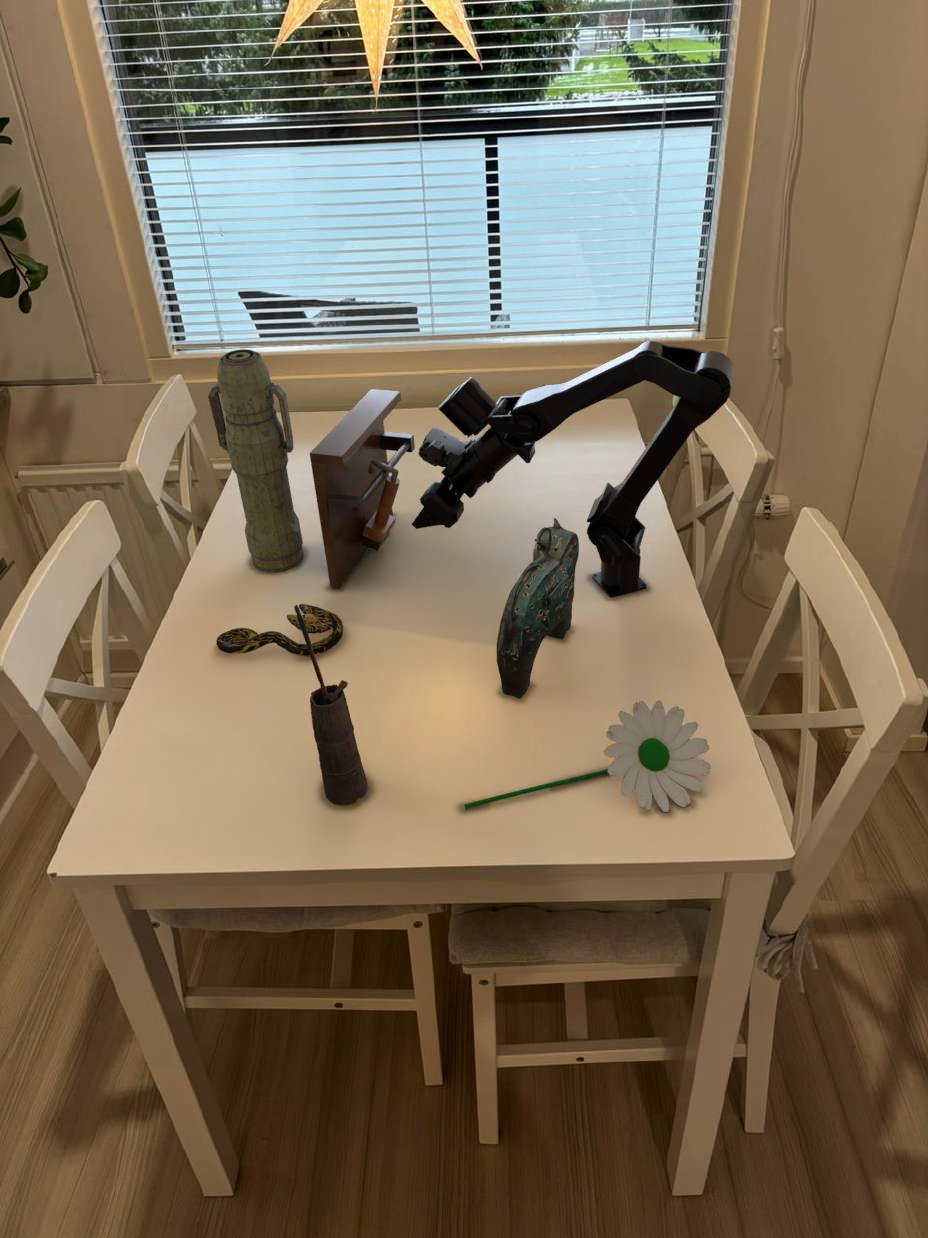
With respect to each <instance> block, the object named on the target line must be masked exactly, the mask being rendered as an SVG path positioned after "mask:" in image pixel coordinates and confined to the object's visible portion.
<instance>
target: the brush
mask: <svg viewBox="0 0 928 1238" xmlns="http://www.w3.org/2000/svg"><path fill="white" fill-rule="evenodd" d="M375 467H378V468H381V469H383V470H385V471H387V472H390V473H389V474H391V475H389V476H388V477H387V478H386V482H385V485H384V488H383V492H382V495H381V499H380V502H379V505H378V509H377V511H376V512H375V513H374V515H373V516H372V517H371V519H370V520H369V521H368V523H367V524H366V525H365V528H364V531H363V534H362V535H363V540H362V543H361V544H362V545H364V546H366V547H368V548H369V549H371V550H373V551H375V552H379V550H380V549H381V547H383V545H384V543H386V541H387V539H388V538H389V537H390V533H391V530H392V529H393V527H394V525H395V523H396V519H397V517H395V516H394V515H393V516H391V515H390V513H391V510H393V506H394V503H395V500H396V497H397V493H398V490H399V487H400V483H401V479H400V478H399V477H398V475H399V470H398V469H397V468H395V467H394V468H393V467H390V466H388V465H386V464H384V463H381V462H379V461H377V460H375V459H373V460H371V463H370V467H369V470H368V473H369V474H373V473H374V470H375Z"/></svg>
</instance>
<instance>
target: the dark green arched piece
mask: <svg viewBox="0 0 928 1238" xmlns="http://www.w3.org/2000/svg"><path fill="white" fill-rule="evenodd" d="M534 541H535V542H536V543H535V545H534V548H533V552H532V559H533V560H532V561H531V562H530V563H529V564H528V565H527V566H526V567H525V569H524V570H523V572H522V573H521V575H520V576H519V577H518V579H517V581H516V582H515V583H514V585H513V587H512V589H511V590H510V592H509V594H508V597H507V599H506V602H505V604H504V608H503V611H502V615H501V619H500V623H499V628H498V634H497V638H496V665H497V669H498V673H499V674H498V675H499V678H500V684H501V685H500V686H501V692H502V694H504V695H506V696H510V697H514V698H517V699H518V700H519V699H522V698H523V697H525V695H526V694H527V692H528V690H529V688H530V686H531V676H532V672H533V668H534V664H535V660H536V658H537V656H538V653H539V649H540V647H541V646H542V643H543V641H544V640H545V639H546V637H550V638H554V639H557V640H562V641H563V640H564V638H566V634H567V633H568V632H569V631H570V629H571V626H572V618H573V603H574V602H573V601H574V597H575V579H576V568H577V564H578V560H579V554H580V543H579V542H580V541H579V536H578V534H577V533H576V532H573V531H571V530H568V529H566V528H564V527H562V526H561V524H560V522H559V520H558V519H557V518H556V517H553V525H552V526H548V527H547V526H545V527H541V529H540V530H539V531H538V533H537V535H536V538H534Z"/></svg>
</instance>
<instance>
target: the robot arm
mask: <svg viewBox="0 0 928 1238" xmlns="http://www.w3.org/2000/svg"><path fill="white" fill-rule="evenodd" d="M734 376H735V366H734V363H733V361H732V360H731V358H730V357H729V356H727V355H726V354H725V353H722V352H720V351H712V350H711V351H706V352H704V351H701V350H699V349H696V348H692V347H687V346H686V347H685V346H676V345H668V344H664V343H661V342H657V341H654V340H648V341H645V342H643V343H641V344H640V345H639V346H637V348H634V349H632V350H629V351H628V352H626V353H624V354H622V355H620V356H618V357H616V358H614V359H611V360H609V361H607V362H605V363H604V364H601V365H599V366H597V367H594V368H593V369H590V370H589V371H587V372H585V373H583V374H581V375H578V376H577V377H575V378H573V379H570V380H569V381H566V382H563V383H558V384H546V385H544V386H539V387H536V388H533V389H529V390H526V391H525V392H524V393H522V394H521V395H519V394H518V395H503V396H502V395H501V396H499V398H498V400H497V401H495V400H494V399H493V398H492V397H491V396H490V395H489V394H488V393H487V392H486V391H485V390H484V389H483V388H482V386H481V385H480V384H479V382H478V381H477V380H476V378H474V377H473V376H470V377H469V378H468V379H467V380H466V381H464V382H463V383H462V384H459V385H458V386H457V387H456V388H454V389H453V390H452V392H451V393H450V394H449V395H448V396H446V398H445V399H444V400H443V402H442V403H441V404H439V406H438V408H437V409H438V410H439V412H440V413H442V414H443V416H445V418H447V420H448V421H450V422H451V423H452V425H454V427H456V428H457V429H458V430H459V431H460V433H461V434H462V435H463V436H466V437H467V438H470V437H471V436H472V435H473V436H474V437H476V436H478V435H479V434H480V433H481V432H482V431H483V430H484V429H485V428H486V427H487V426H488V425H489V426H490V427H488V428H487V429H486V430H485V431H484V432H483V433H482V434H481V435H480V436H478V438H476V439H475V438H474V439H470V440H462V441H461V440H460V439H459V438H458V437H456V436H455V435H452V434H451V433H449V432H447V431H445V430H443V429H441V428H440V427H439V428H438V427H435V426H434V427H432V428H431V429H430V430H429V431H428V433H427V434H426V435H425V437H424V439H423V441H422V444H421V445H420V446H419V449H418V456H419V457H420V458H421V459H422V461H424V462H425V463H427V464H429V465H432V466H433V467H438V466H439V467H440V468H443V469H442V470H441V474H442V475H443V476H444V477H443V478H442V479H441V480H440V482H439V481H434V482H433V483H432V484H431V485H430V486H429V487H428V488H427V489H426V490H425V491H424V493H423V494H422V496H420V498H419V501H420V505H422V506H423V507H422V508H421V510H420V512H418V514H417V516H416V517H415V519H414V520H413V521H412V523H411V526H412V527H413V528H414V529H415V530H418V529H425V528H431V527H438V526H443V527H445V528H447V529H451V528H452V527H453V526H454V525H455V524H456V523H458V521H459V520H460V519H461V517H462V515H463V514H464V511H465V503H464V502H463V501H462V500H461V499H462V497H464V495H466V496H467V497H468V498H469V499H472V498H473V497H474V496H475V495H476V494H477V492H478V491H479V489H480V488H481V487H482V486H483V485H485V483H486V484H489V483H491V482H492V481H493V479H494V478H495V476H496V475H497V473H498V472H499V471H501V470H502V469H504V467H505V466H506V465H508V464H509V463H510V462H511V461H512V460H513V459H515V458H516V457H517V456H518V457H520V458H521V460H523V462H525V463H526V464H530V463H531V462H532V460H533V458H534V456H535V454H536V443H537V442H538V441H540V440H542V439H543V438H545V437H546V436H547V435H550V433H551V432H553V431H555V430H556V429H557V428H559V426H561V424H563V423H564V422H565V421H566V420H567V419H569V418H570V417H571V416H573V415H574V414H576V413H578V412H580V411H583V410H585V409H587V408H588V407H591V406H593V405H595V404H597V403H599V402H601V401H605V400H606V399H608V398H611V397H613V396H614V395H617V394H618V393H621V392H623V391H626V390H627V389H629V388H632V387H634V386H636V385H638V384H640V383H643V382H644V381H646V382H649V383H652V384H654V385H656V386H658V387H659V388H661V389H663V390H664V391H666V392H668V393H669V394H671V395H673V396H675V397H677V398H676V401H675V404H674V405H673V407H672V409H671V411H670V412H669V414H668V415H667V416H666V418H665V419H664V421H663V422H662V423H661V425H660V427H659V428H658V429H657V431H656V433H655V434H654V436H653V437H652V438H651V440H650V441H649V442H648V444H647V446H646V447H645V449H643V452H641V454H640V456H639V457H638V459H637V460H636V462H635V463H634V464H633V466H632V468H631V469H630V471H629V472H628V473H627V475H626V476H625V478H624V479H623V481H621V482H620V483H619V484H617V485H616V486H613V485H612V484H611V483H609V482H606V484H605V487H604V489H603V490H602V493H601V494H600V495H599V496H597V498H595V499H594V501H593V502H592V505H591V508H590V510H589V514H588V515H587V519H586V523H588V527H587V529H586V534H587V537H588V540H589V542H591V545H593V546H594V547H595V548H596V550H597V553H598V556H599V559H600V572H597V573H593V574H592V575H591V578H592V579H593V580H594V582H595V583H596V584H597V585H598V587H599V588H600V589H601V590H602V591H603V592H604V593H605V594H606V596H608V597H609V598H611V599H613V598H614V599H615V598H617V597H622V596H625V595H628V594H633V593H636V592H640V591H644V590H647V588H648V584H647V583H646V582H645V581H644V580H643V579H642V578H641V577H640V572H641V559H642V556H641V545H642V541H643V539H644V534H645V531H646V526H645V525H644V524H643V523H642V522H641V520H639V519H638V518H637V513H638V512H639V508H640V506H641V504H642V503H643V501H644V500H645V499H646V497H647V496H648V494H649V493H650V491H651V490H652V489H653V487H654V486H655V485H656V483H657V482H658V480H659V479H660V477H661V476H662V475H663V473H664V472H665V470H666V469H667V468H668V466H669V465H670V464H671V462H672V461H673V459H674V458H675V457H676V455H677V454H678V452H679V450H680V449H681V448H682V447H683V445H684V444H685V442H686V441H687V440H688V438H689V437H690V435H692V433H693V431H695V430H696V429H697V428H698V427H700V426H701V425H702V424H704V423H706V421H708V420H710V419H711V418H712V417H713V416H714V415H715V414H716V412H718V411H719V410H720V409H721V408H722V407H723V406H724V405H725V404H726V403H727V402H728V400H729V398H730V396H731V392H732V386H733V381H734Z"/></svg>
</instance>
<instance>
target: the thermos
mask: <svg viewBox="0 0 928 1238" xmlns="http://www.w3.org/2000/svg"><path fill="white" fill-rule="evenodd" d="M217 368H218V369H217V376H216V378H217V384H215V385H214V386H213V387H211V390H210V392H209V394H208V396H207V399H208V403H209V406H210V410H211V414H212V418H213V421H214V427H215V430H216V434H217V439H218V445H219V447H221V448H222V449H223V450H224V451H225V452H227V454H228V458H229V461H230V466H231V469H232V471H233V472H234V473H235V475H236V479H237V483H238V484H237V485H238V488H239V494H240V499H241V504H242V509H243V513H244V518H245V527H244V534H245V539H246V543H247V548H248V552H249V554H251V563H252V566H253V567H254V568H255V569H256V570H258V571H260V572H264V573H273V574H274V573H283V572H286V571H289V570H292V569H294V568H296V567H298V566H299V565H300V564H301V563H302V562H303V561H304V558H305V554H304V553H305V552H304V549H303V544H304V541H303V536H302V530H301V523H300V518H299V516H298V515H297V513H296V511H295V508H294V503H293V497H292V496H293V495H292V492H291V491H292V490H291V486H290V485H291V484H290V480H289V474H288V468H287V466H288V463H289V456H288V453H292V452H293V450H294V436H293V429H292V423H291V417H290V411H289V404H288V400H287V393H286V392H285V391H284V390H283V388H282V387H281V386H280V385H277V384H275V383H274V382H272V380H271V375H270V370H269V367H268V366H267V364H266V362H265V361H264V358H263V357H262V354H261V353H259V352H258V351H255V350H252V349H247V348H245V349H244V348H243V349H241V348H240V349H235V350H231V351H229V352H226V353H225V354H223V355H222V356H220V358H219V360H218V367H217ZM274 396H275V397H276V398H277V399H278V405H279V410H280V416H281V421H280V419H279V418H278V416H277V410H276V409H275V406H274V405H275V399H274ZM220 398H221V399H220ZM223 411H224V412H225V417H224V413H223Z"/></svg>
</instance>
